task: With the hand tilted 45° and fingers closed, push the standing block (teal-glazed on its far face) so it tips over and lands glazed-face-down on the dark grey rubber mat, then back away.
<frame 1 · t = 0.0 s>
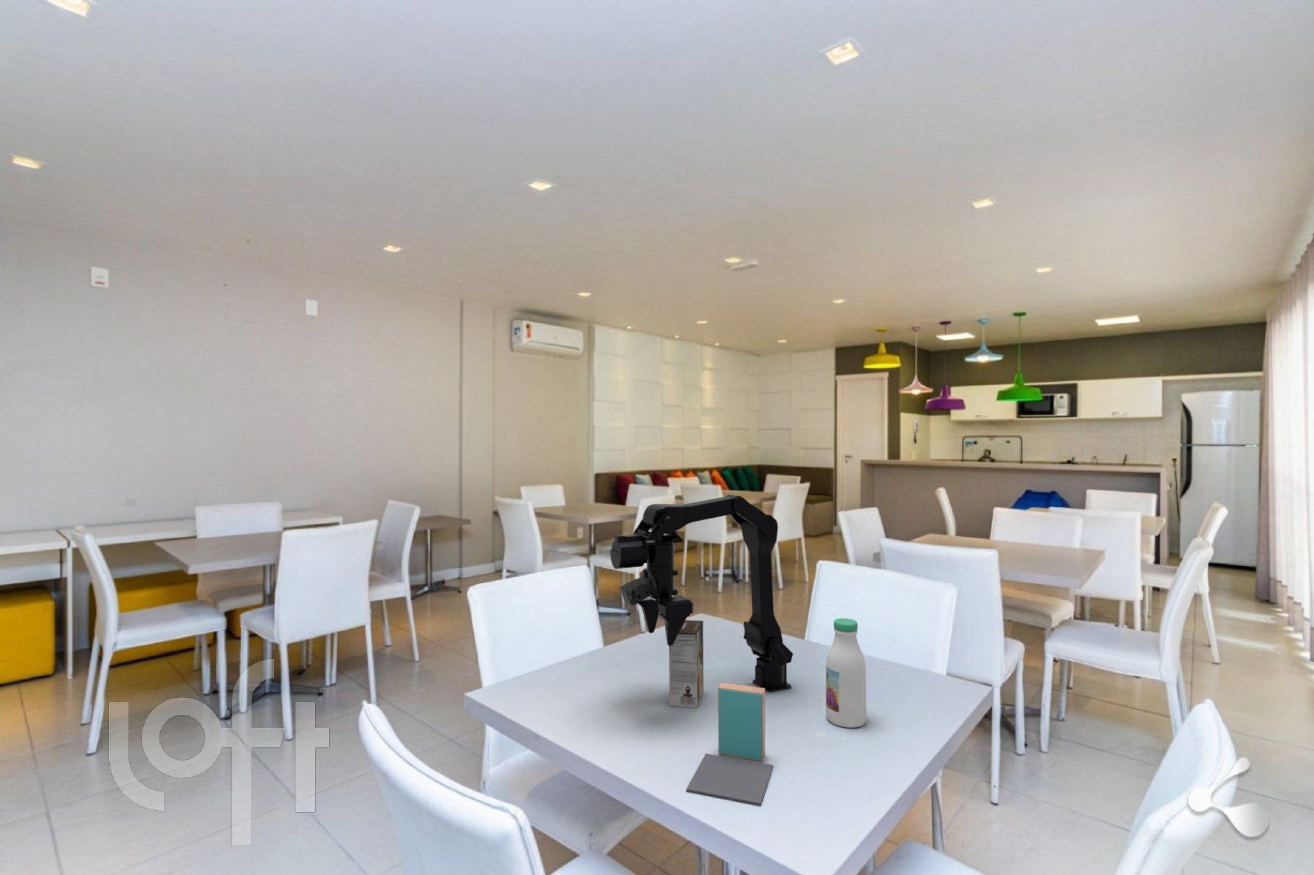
hand: (660, 638, 131), 15 cm above the table, tool pointing down, fingers open, 9 cm apart
coffee box: (686, 699, 136), on the table
milk bottle: (845, 721, 125), on the table
mat: (731, 778, 104), on the table
block: (741, 754, 112), on the table
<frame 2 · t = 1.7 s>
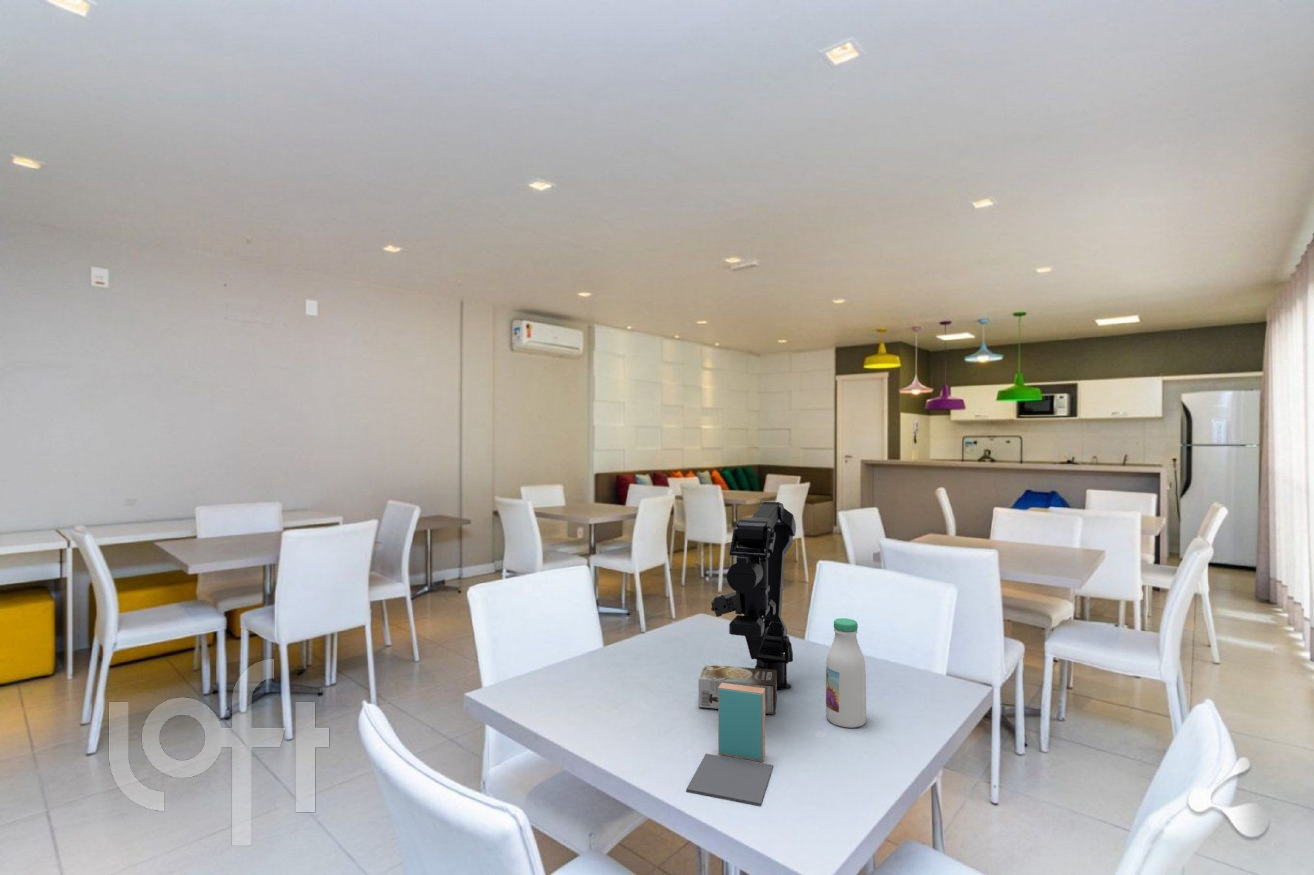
hand: (753, 658, 127), 12 cm above the table, tool pointing down, fingers closed
coffee box: (700, 685, 135), point 3 cm above the table
everything else where it was.
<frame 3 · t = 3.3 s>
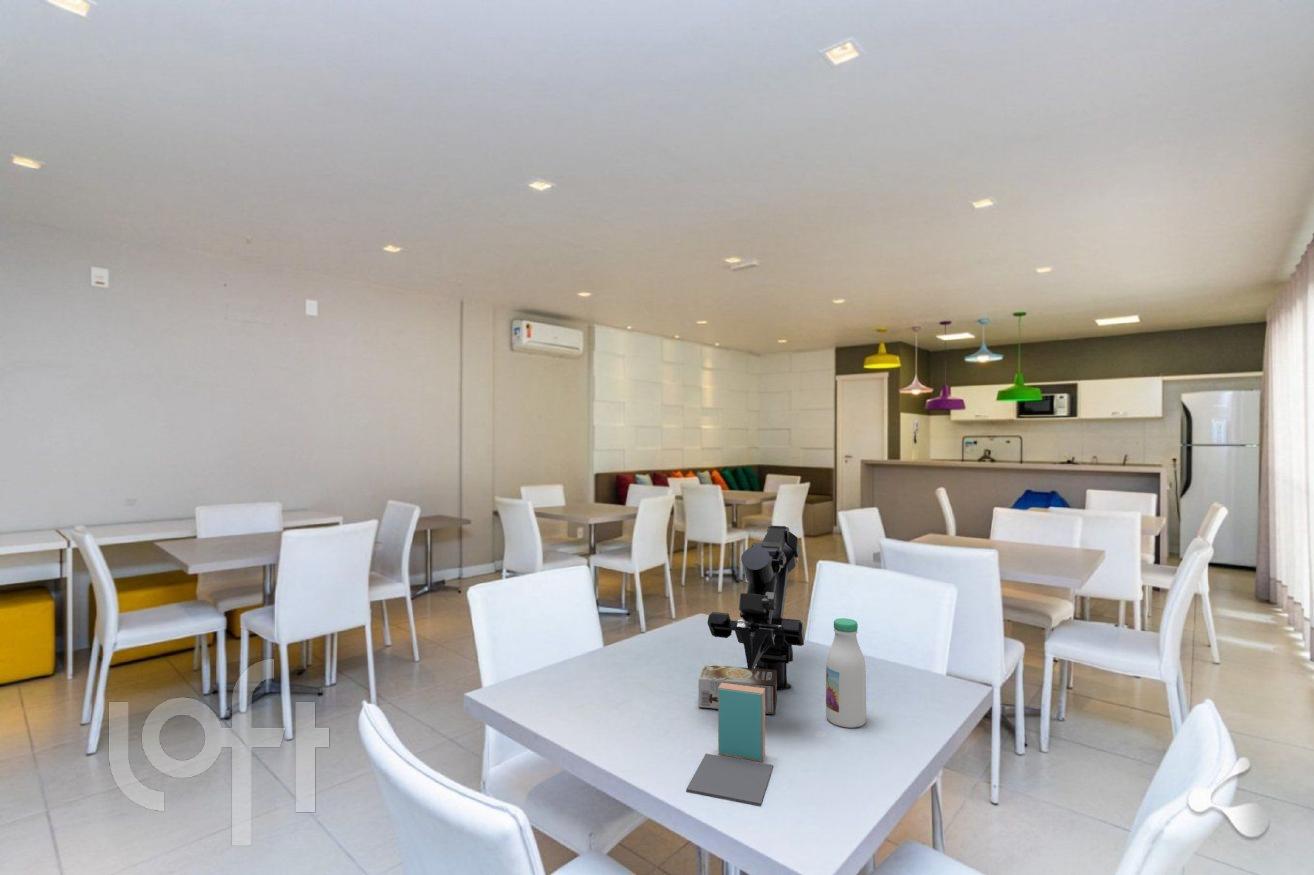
hand: (750, 668, 119), 13 cm above the table, tool tilted 45°, fingers closed
nothing on the table moved.
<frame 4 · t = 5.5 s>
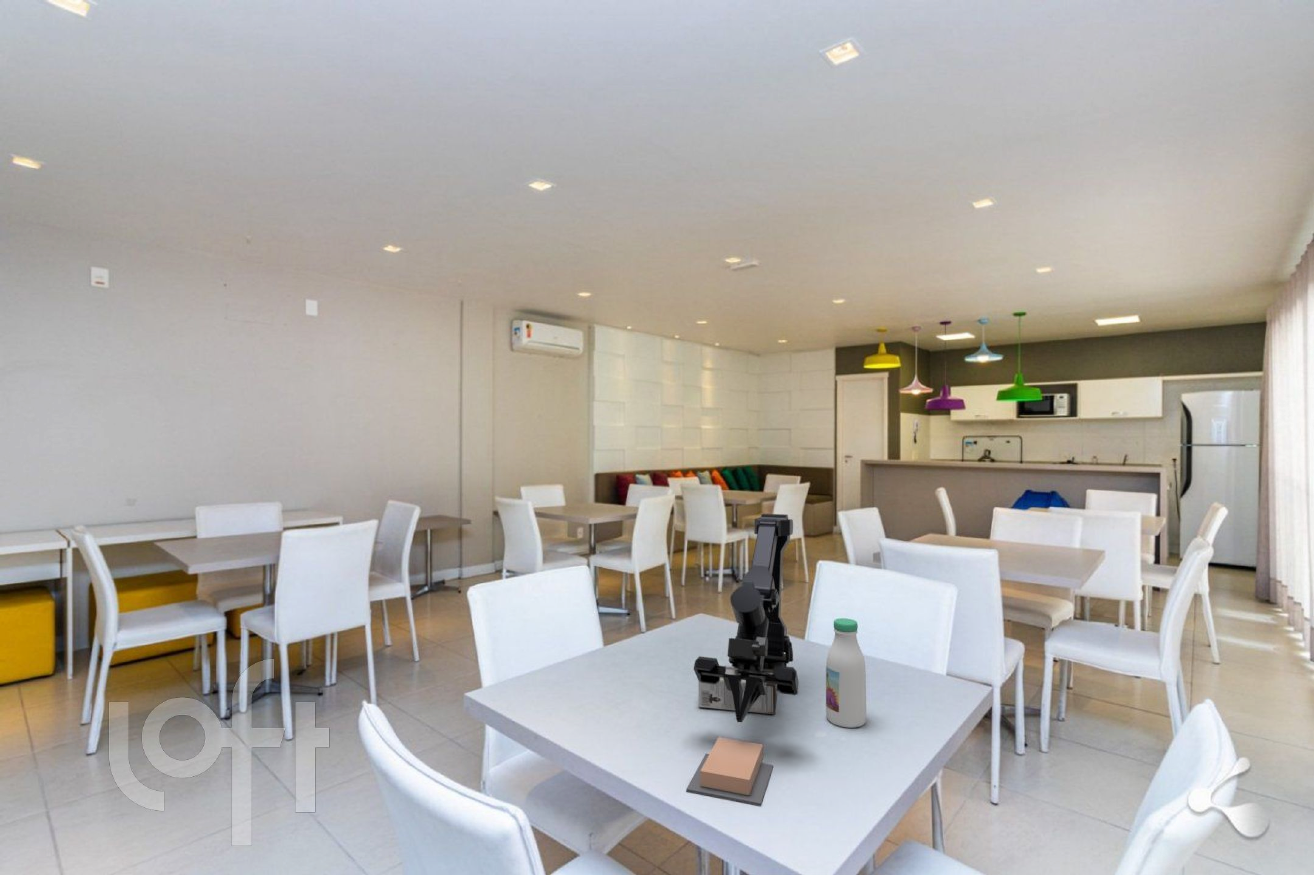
hand: (739, 721, 110), 7 cm above the table, tool tilted 45°, fingers closed
block: (740, 747, 110), point 2 cm above the table, tilted 90°, touching mat
everything else where it was.
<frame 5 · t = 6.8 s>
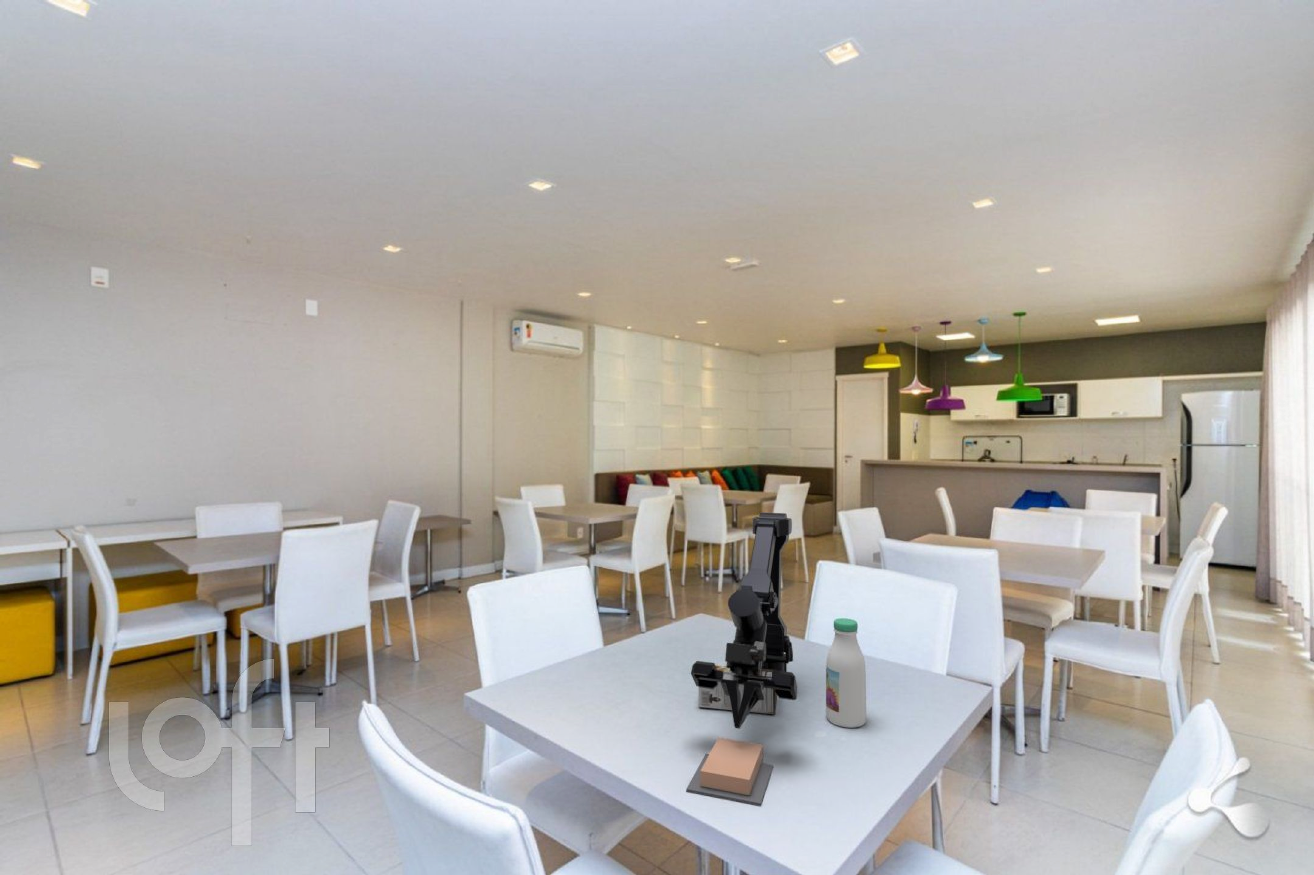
hand: (736, 727, 108), 7 cm above the table, tool tilted 45°, fingers closed
nothing on the table moved.
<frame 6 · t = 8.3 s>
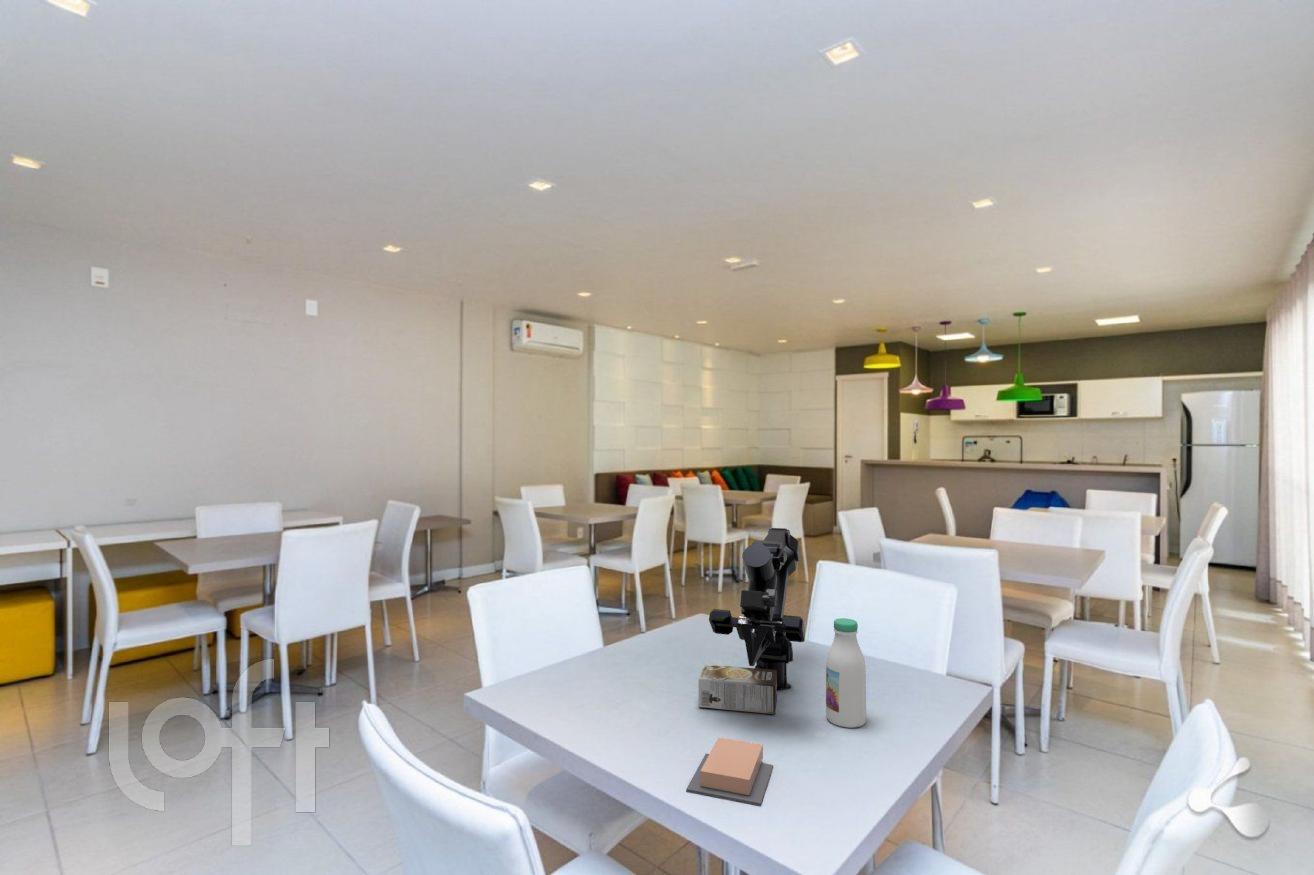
hand: (751, 665, 120), 13 cm above the table, tool tilted 45°, fingers closed
nothing on the table moved.
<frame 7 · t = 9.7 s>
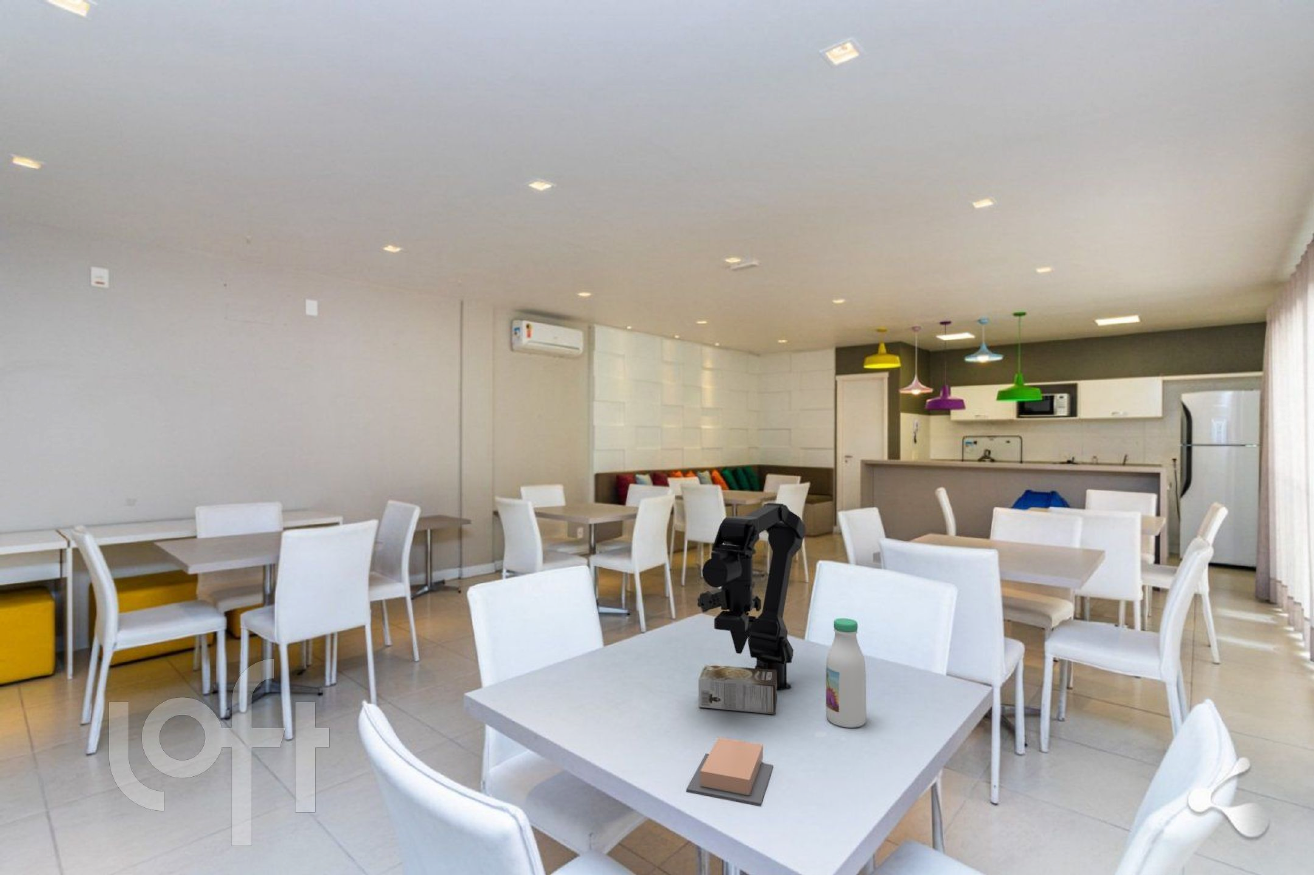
hand: (739, 653, 130), 12 cm above the table, tool pointing down, fingers closed
nothing on the table moved.
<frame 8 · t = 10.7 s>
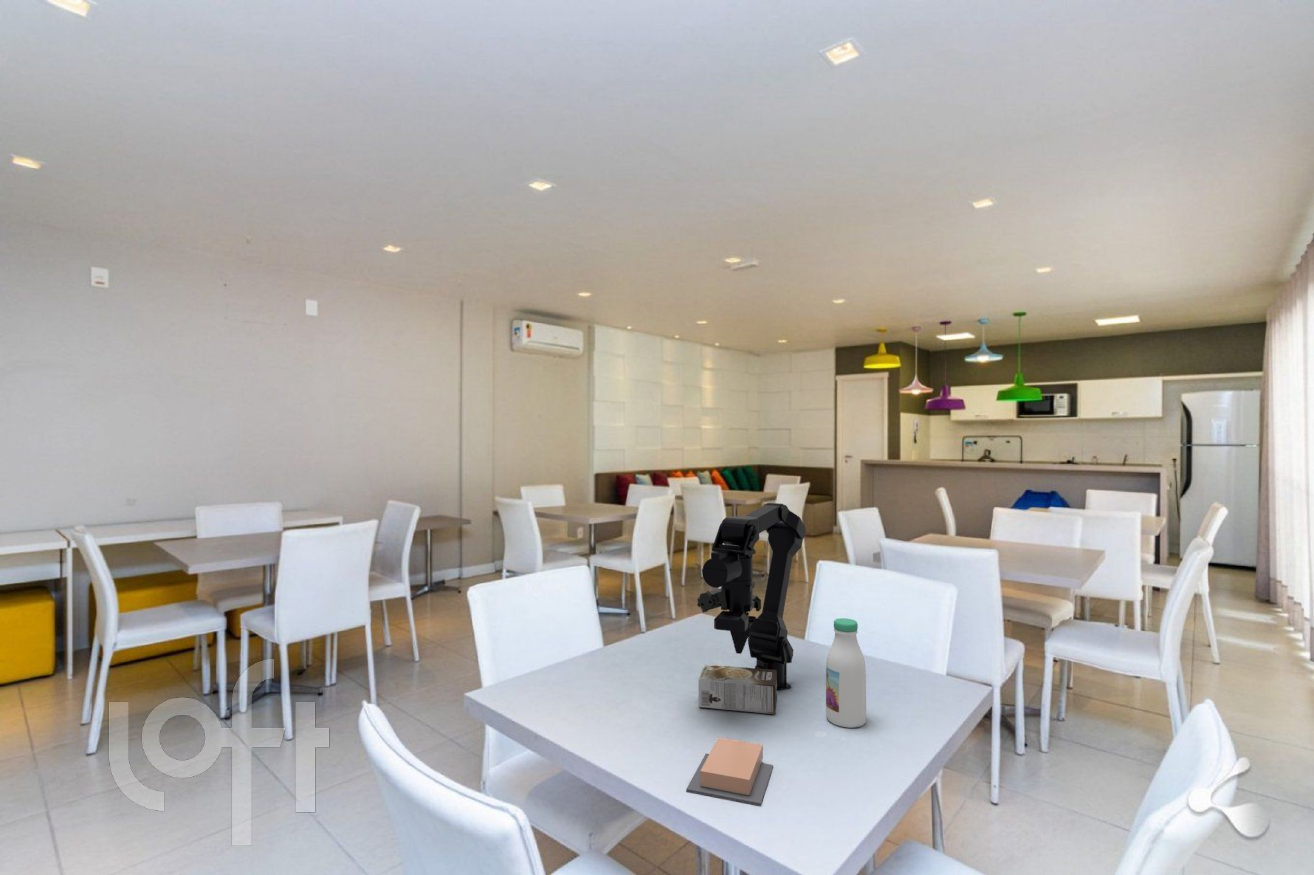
hand: (738, 653, 130), 12 cm above the table, tool pointing down, fingers closed
nothing on the table moved.
at the end: block tilted 90°; block point 1.8 cm above the table; block 7.3 cm from the mat (horizontally) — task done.
